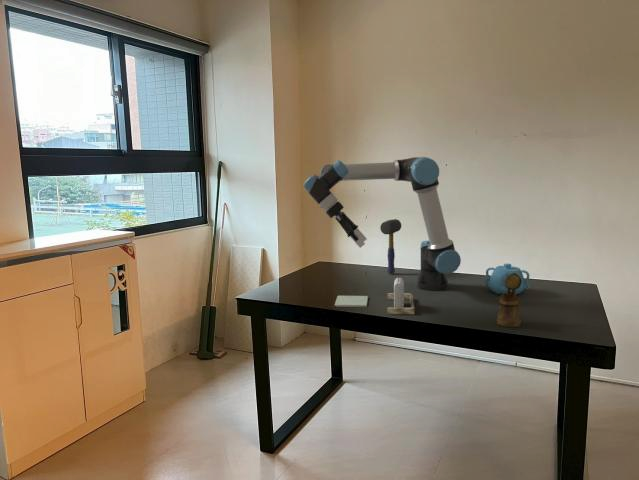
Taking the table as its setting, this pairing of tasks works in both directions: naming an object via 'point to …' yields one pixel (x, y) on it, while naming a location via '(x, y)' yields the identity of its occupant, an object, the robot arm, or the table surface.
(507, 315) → the brown wooden ornament
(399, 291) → the grey upright block
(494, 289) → the decorative pot
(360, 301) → the sage mat
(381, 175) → the robot arm
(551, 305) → the table surface
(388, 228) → the rubber mallet
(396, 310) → the frame
